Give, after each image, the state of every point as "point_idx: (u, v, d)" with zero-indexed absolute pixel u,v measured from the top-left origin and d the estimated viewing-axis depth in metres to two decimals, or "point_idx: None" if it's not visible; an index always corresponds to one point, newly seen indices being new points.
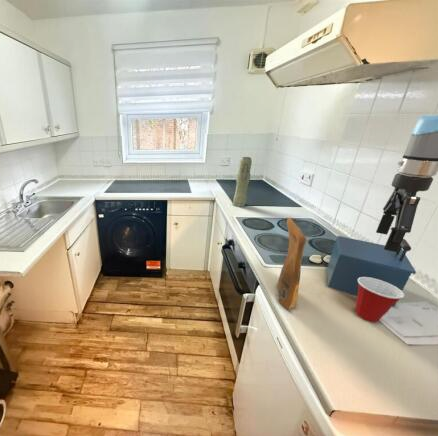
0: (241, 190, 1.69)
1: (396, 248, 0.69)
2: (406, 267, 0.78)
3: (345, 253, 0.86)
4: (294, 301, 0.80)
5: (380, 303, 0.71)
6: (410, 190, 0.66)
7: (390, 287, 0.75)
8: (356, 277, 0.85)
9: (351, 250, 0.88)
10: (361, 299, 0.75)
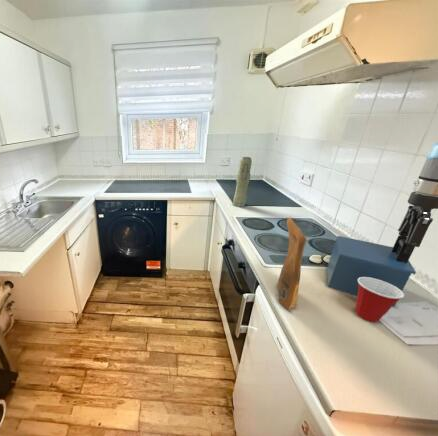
0: (241, 190, 1.69)
1: (406, 259, 0.79)
2: (406, 267, 0.78)
3: (345, 253, 0.86)
4: (294, 301, 0.80)
5: (380, 303, 0.71)
6: (425, 208, 0.73)
7: (390, 287, 0.75)
8: (356, 277, 0.85)
9: (351, 250, 0.88)
10: (361, 299, 0.75)
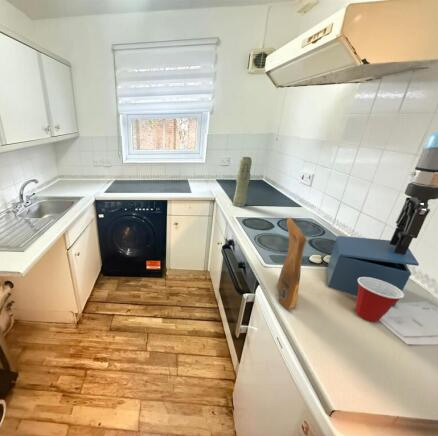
0: (241, 190, 1.69)
1: (404, 251, 0.79)
2: (408, 260, 0.77)
3: (344, 252, 0.86)
4: (294, 301, 0.80)
5: (380, 303, 0.71)
6: (422, 199, 0.73)
7: (390, 287, 0.75)
8: (356, 277, 0.85)
9: (351, 249, 0.87)
10: (361, 299, 0.75)
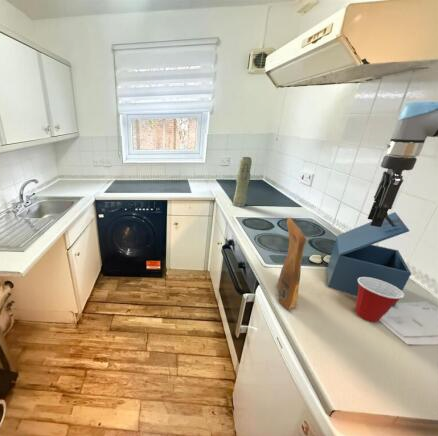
0: (241, 190, 1.69)
1: (380, 224, 0.80)
2: (398, 229, 0.76)
3: (343, 250, 0.86)
4: (294, 301, 0.80)
5: (380, 303, 0.71)
6: (397, 170, 0.74)
7: (390, 287, 0.75)
8: (356, 277, 0.85)
9: (349, 243, 0.87)
10: (361, 299, 0.75)
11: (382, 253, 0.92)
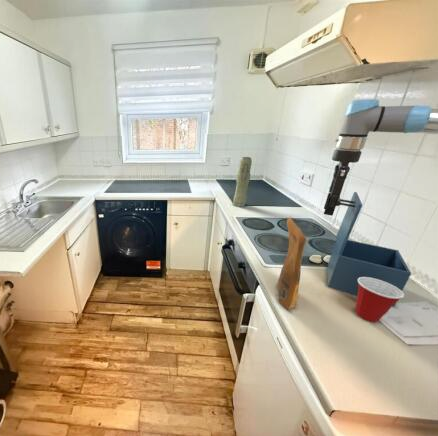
0: (241, 190, 1.69)
1: (332, 212, 0.87)
2: (356, 208, 0.80)
3: (339, 249, 0.86)
4: (294, 301, 0.80)
5: (380, 303, 0.71)
6: (344, 162, 0.80)
7: (390, 287, 0.75)
8: (356, 277, 0.85)
9: (341, 239, 0.88)
10: (361, 299, 0.75)
11: (382, 253, 0.92)
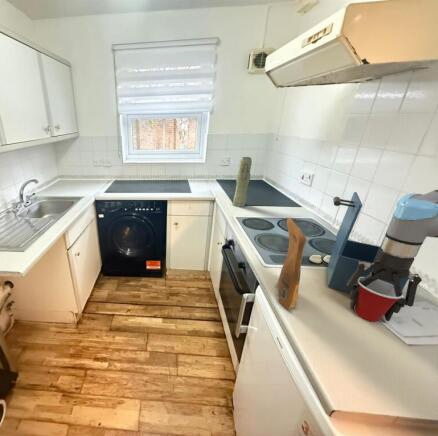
0: (241, 190, 1.69)
1: (351, 305, 0.79)
2: (356, 208, 0.80)
3: (339, 249, 0.86)
4: (294, 301, 0.80)
5: (379, 303, 0.71)
6: (374, 259, 0.72)
7: (390, 287, 0.75)
8: None
9: (341, 239, 0.88)
10: (361, 299, 0.75)
11: None
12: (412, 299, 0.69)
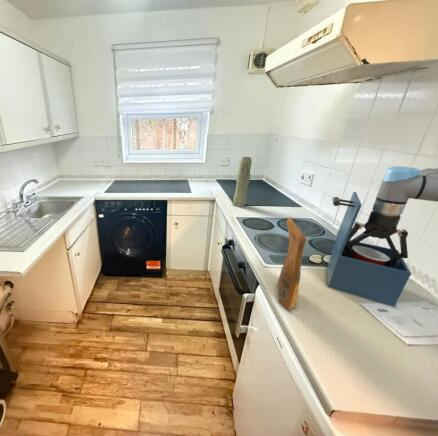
0: (241, 190, 1.69)
1: None
2: (355, 208, 0.80)
3: (339, 249, 0.86)
4: (294, 301, 0.80)
5: None
6: None
7: (378, 254, 0.89)
8: (356, 277, 0.85)
9: (340, 239, 0.88)
10: None
11: None
12: (405, 251, 0.81)
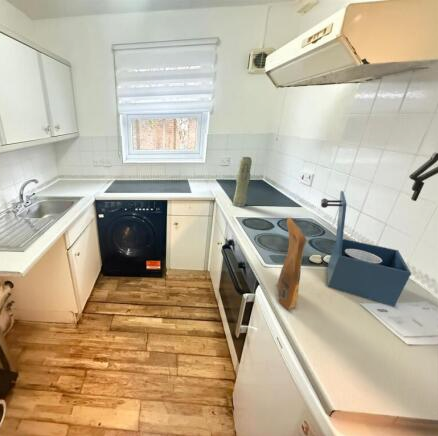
0: (241, 190, 1.69)
1: (414, 197, 0.84)
2: (342, 207, 0.82)
3: (338, 249, 0.86)
4: (294, 301, 0.80)
5: None
6: None
7: (372, 256, 0.90)
8: (356, 277, 0.85)
9: (338, 239, 0.89)
10: None
11: (382, 253, 0.92)
12: None
